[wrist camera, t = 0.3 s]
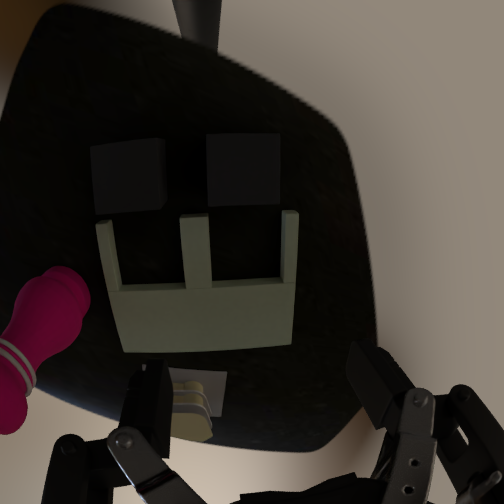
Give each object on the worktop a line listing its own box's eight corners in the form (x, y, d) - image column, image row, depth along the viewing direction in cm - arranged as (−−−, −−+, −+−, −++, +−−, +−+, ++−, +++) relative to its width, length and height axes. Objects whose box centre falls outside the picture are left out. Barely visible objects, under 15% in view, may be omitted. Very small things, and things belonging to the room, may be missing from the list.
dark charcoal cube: (107, 146, 22) (89, 146, 18) (165, 139, 23) (156, 137, 19) (111, 205, 24) (95, 215, 20) (168, 200, 24) (160, 209, 21)
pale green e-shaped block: (100, 220, 24) (94, 224, 23) (294, 209, 26) (299, 213, 25) (126, 344, 29) (123, 352, 28) (287, 336, 31) (291, 344, 30)
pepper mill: (87, 330, 28) (20, 481, 9) (36, 302, 26) (-56, 426, 7) (102, 280, 26) (6, 444, 7) (46, 248, 24) (-82, 369, 5)
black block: (207, 136, 23) (206, 134, 19) (270, 135, 24) (280, 133, 20) (208, 198, 25) (208, 206, 21) (269, 196, 26) (280, 204, 22)
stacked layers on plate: (147, 410, 33) (143, 441, 28) (142, 364, 30) (134, 397, 25) (220, 416, 35) (223, 448, 30) (227, 371, 32) (230, 406, 27)
